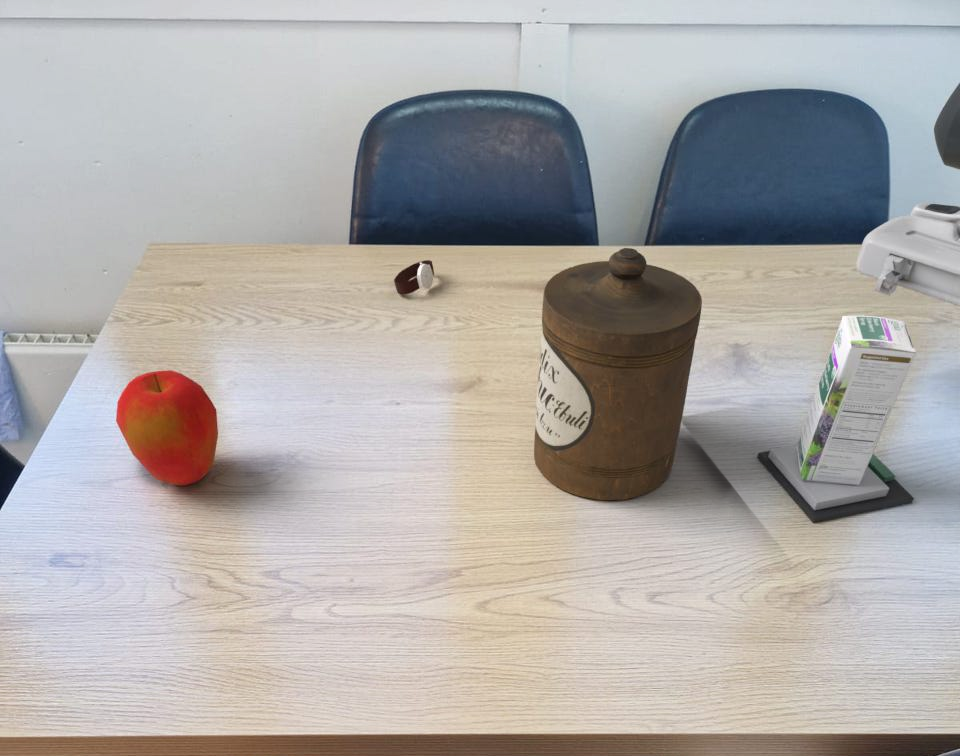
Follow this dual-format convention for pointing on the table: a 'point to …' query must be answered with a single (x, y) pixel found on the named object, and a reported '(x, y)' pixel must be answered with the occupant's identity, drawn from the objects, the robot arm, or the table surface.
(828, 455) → the syrup box
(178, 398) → the apple
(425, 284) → the watch
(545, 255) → the table surface
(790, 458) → the scale
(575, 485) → the wooden container
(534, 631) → the table surface
